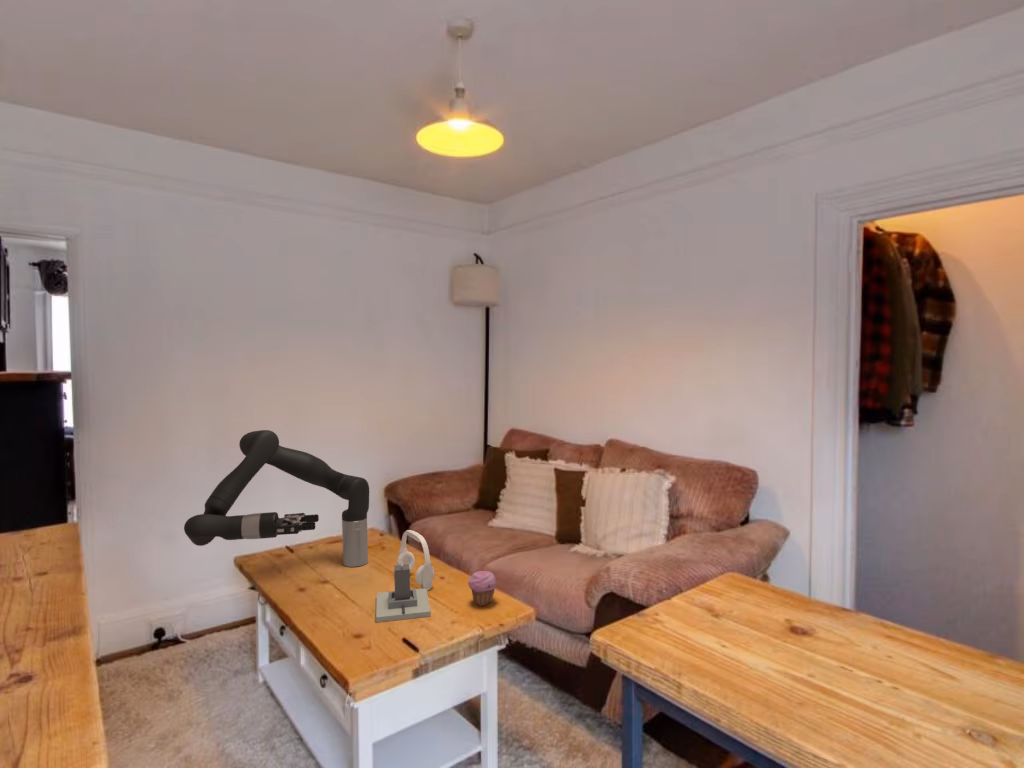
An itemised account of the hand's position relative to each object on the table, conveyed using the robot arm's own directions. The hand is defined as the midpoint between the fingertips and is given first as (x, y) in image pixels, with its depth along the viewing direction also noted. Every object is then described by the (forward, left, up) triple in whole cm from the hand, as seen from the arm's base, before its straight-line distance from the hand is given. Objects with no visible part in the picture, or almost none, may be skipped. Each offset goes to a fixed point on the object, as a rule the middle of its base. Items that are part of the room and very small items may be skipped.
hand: (316, 521), depth 175 cm
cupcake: (-7, +50, -28) cm, 58 cm away
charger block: (-4, +25, -26) cm, 37 cm away
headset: (-22, +25, -28) cm, 44 cm away
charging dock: (-4, +25, -28) cm, 38 cm away
